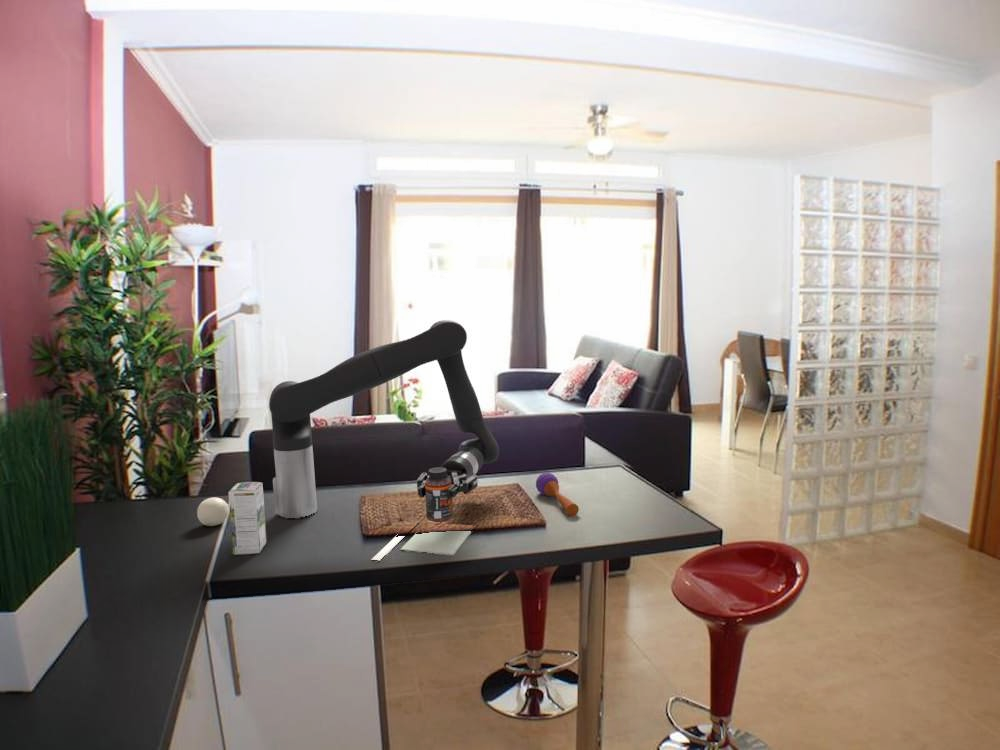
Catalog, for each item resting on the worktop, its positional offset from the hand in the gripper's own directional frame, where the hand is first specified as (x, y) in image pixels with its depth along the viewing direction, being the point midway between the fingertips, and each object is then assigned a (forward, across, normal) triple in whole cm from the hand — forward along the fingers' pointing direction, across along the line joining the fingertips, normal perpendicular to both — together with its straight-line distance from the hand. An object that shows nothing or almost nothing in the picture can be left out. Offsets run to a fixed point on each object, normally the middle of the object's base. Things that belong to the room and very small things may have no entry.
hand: (434, 494), depth 143 cm
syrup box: (+12, -39, +11) cm, 42 cm away
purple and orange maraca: (-30, +22, +12) cm, 39 cm away
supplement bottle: (-2, 0, +7) cm, 7 cm away
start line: (+1, -9, +11) cm, 14 cm away
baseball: (+1, -57, +11) cm, 58 cm away
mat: (-2, 0, +11) cm, 11 cm away
